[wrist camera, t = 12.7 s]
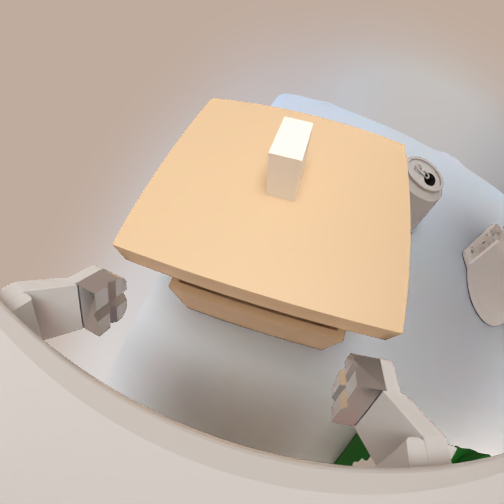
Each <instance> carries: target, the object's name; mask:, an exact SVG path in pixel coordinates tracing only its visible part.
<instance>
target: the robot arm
mask: <svg viewBox="0 0 504 504" xmlns="http://www.w3.org/2000/svg"><path fill="white" fill-rule="evenodd" d="M463 257H464V261H465V264H466V267H467V282H468V289H469V294H470V297H471V300H472V303H473V305H474V308H475V310H476V311H477V313H478V315H479V316H480V317H481V319H482V320H483V321H484V322H486V323H487V324H489V325H491V326H499V325H501V324H504V227H503V228H502V229H501V228H500V227H499V225H498V224H496V225H495V226H494V225H490V226H489V227H488V228H487V229H486V230H485V231H484V232H483V233H482V234H481V235H480V236H479V237H478V238H477V239H476V240H475V241H473V242H472V243H471V244H470V245H469V246H468V247H467V248H466V249H465V250H464V251H463ZM126 287H127V286H126V281H125V279H124V278H122V277H120V276H118V275H116V274H114V273H112V272H109V271H107V270H105V269H103V268H101V267H98V266H95V265H92V266H90V267H88V268H86V269H84V270H82V271H80V272H78V273H76V274H75V275H73V276H71V277H69V278H67V279H65V278H55V279H43V280H34V281H33V280H32V281H21V282H14V283H12V284H10V285H8V286H6V287H4V288H2V289H0V504H504V453H503V454H499V455H495V456H491V457H487V458H482V459H478V460H473V461H467V462H461V463H454V464H452V462H451V457H450V453H449V449H448V445H447V441H446V437H445V435H444V434H443V433H442V432H441V431H440V430H439V429H438V428H437V427H436V426H435V425H434V424H433V423H432V422H431V421H430V420H429V419H428V418H427V417H426V416H425V415H424V414H423V412H422V411H421V410H420V409H419V408H418V407H417V406H416V405H415V404H414V403H413V402H412V401H411V400H410V399H409V398H408V397H407V396H406V395H405V394H402V393H401V392H400V388H399V384H398V380H397V376H396V373H395V369H394V366H393V363H392V362H391V361H390V360H384V359H376V358H371V357H367V356H362V355H357V354H353V353H351V354H350V355H349V356H348V357H347V359H346V361H345V369H343V370H341V371H339V373H338V375H337V377H336V379H335V382H334V385H333V389H332V398H333V399H334V401H335V403H334V404H333V406H332V415H331V422H335V423H340V424H345V425H351V426H355V427H354V428H355V430H356V431H357V433H358V435H359V437H360V438H361V440H362V442H363V444H364V445H365V447H366V449H367V451H368V452H369V454H370V456H371V458H372V459H373V461H374V463H375V465H376V467H358V466H346V465H336V464H328V463H321V462H314V461H308V460H302V459H297V458H292V457H287V456H282V455H278V454H274V453H269V452H265V451H261V450H258V449H254V448H250V447H247V446H243V445H240V444H237V443H233V442H230V441H227V440H224V439H221V438H218V437H215V436H213V435H210V434H207V433H204V432H202V431H199V430H197V429H194V428H191V427H189V426H187V425H184V424H182V423H179V422H177V421H175V420H173V419H170V418H168V417H166V416H164V415H162V414H160V413H157V412H155V411H153V410H151V409H149V408H147V407H145V406H143V405H141V404H139V403H138V402H136V401H134V400H132V399H130V398H128V397H126V396H125V395H123V394H121V393H119V392H118V391H116V390H114V389H113V388H111V387H109V386H108V385H106V384H104V383H103V382H101V381H99V380H98V379H96V378H95V377H93V376H92V375H90V374H89V373H87V372H86V371H84V370H83V369H81V368H80V367H78V366H77V365H75V364H74V363H73V362H71V361H70V360H68V359H67V358H66V357H64V356H63V355H62V354H60V353H59V352H58V351H56V350H55V349H54V348H53V347H51V346H50V345H49V344H48V343H46V342H45V341H44V340H45V339H49V338H53V337H56V336H59V335H63V334H66V333H70V332H73V331H76V330H80V329H82V328H85V329H87V330H89V331H91V332H93V333H94V334H96V335H98V336H101V335H102V334H103V333H104V332H106V331H107V330H108V329H109V328H110V326H111V323H113V322H117V321H119V320H120V319H121V318H122V317H123V315H124V313H125V311H126V307H127V299H126V297H125V295H124V292H125V291H126V289H127V288H126Z"/></svg>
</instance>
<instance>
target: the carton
mask: <svg viewBox="0 0 504 504" xmlns="http://www.w3.org/2000/svg"><path fill="white" fill-rule="evenodd" d="M169 287H170V289H171V290H172V291H173V292H174V293H175V294H176V295H177V297H178V298H179V299H180V300H181V301H182V302H183V303H184V304H185V305H186V306H187V308H190V309H193V310H195V311H198V312H201V313H204V314H206V315H209V316H212V317H215V318H218V319H221V320H224V321H227V322H230V323H233V324H236V325H239V326H242V327H245V328H248V329H251V330H254V331H257V332H261V333H264V334H267V335H271V336H274V337H277V338H281V339H284V340H288V341H291V342H295V343H298V344H302V345H306V346H309V347H313V348H317V349H321V350H323V349H325V348H328V347H330V346H332V345H335V344H337V343H339V342H342V341H343V340H344V336H345V331H346V330H344V329H340V328H336V327H332V326H328V325H325V324H321V323H317V322H314V321H310V320H307V319H303V318H300V317H296V316H293V315H289V314H286V313H282V312H279V311H276V310H272V309H269V308H266V307H262V306H259V305H256V304H253V303H249V302H246V301H243V300H240V299H237V298H234V297H231V296H227V295H224V294H221V293H218V292H215V291H212V290H209V289H206V288H203V287H200V286H198V285H195V284H192V283H189V282H186V281H183V280H180V279H177V278H175V277H172V279H171V282H170V284H169Z"/></svg>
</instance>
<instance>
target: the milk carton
mask: <svg viewBox="0 0 504 504" xmlns="http://www.w3.org/2000/svg"><path fill="white" fill-rule="evenodd" d="M447 445H448V449H449V453H450V457H451V462H452V464H454V463H461V462H467V461H473V460H478V459H482V458H487V457H491V456H490V455H488V454H482V453H478V452H476V451H474V450H471V449H465V448H460V447H458V446H452V445H450V444H447ZM334 464H336V465H346V466H358V467H376V465H375V463H374V461H373V459H372V458H371V456H370V454H369V452H368V451H367V449H366V447H365V445H364V444H363V442H362V440H361V438H360V437H359V435H358V433H357V434H356V435H355V436H354V438H353V439H352V441H351V442H350V443H349V445H348V446H347V448H346V449H345V450H344V452H343V453H342V454H341V456H340V457H339V458H338V459H337V461H336V462H335V463H334Z"/></svg>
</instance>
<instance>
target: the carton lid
mask: <svg viewBox="0 0 504 504" xmlns="http://www.w3.org/2000/svg"><path fill="white" fill-rule="evenodd" d="M410 244H411V217H410V192H409V177H408V166H407V157H406V149H405V145H403V144H401V143H398V142H395V141H393V140H390V139H388V138H385V137H382V136H379V135H376V134H374V133H371V132H368V131H365V130H362V129H359V128H355V127H352V126H349V125H346V124H342V123H339V122H335V121H332V120H328V119H325V118H321V117H317V116H313V115H309V114H305V113H300V112H296V111H291V110H287V109H282V108H277V107H271V106H266V105H259V104H253V103H247V102H240V101H233V100H225V99H216V98H212V99H211V100H210V101H209V102H208V103H207V105H206V106H205V107H204V108H203V109H202V111H201V112H200V113H199V114H198V116H197V117H196V118H195V119H194V121H193V122H192V123H191V124H190V126H189V127H188V128H187V130H186V131H185V132H184V133H183V135H182V136H181V137H180V139H179V140H178V142H177V143H176V144H175V146H174V147H173V148H172V150H171V151H170V152H169V154H168V155H167V157H166V158H165V160H164V161H163V162H162V164H161V165H160V167H159V168H158V170H157V171H156V173H155V174H154V176H153V177H152V179H151V180H150V182H149V183H148V185H147V186H146V188H145V189H144V191H143V192H142V194H141V196H140V197H139V199H138V201H137V202H136V204H135V205H134V207H133V209H132V210H131V212H130V214H129V216H128V217H127V219H126V221H125V222H124V224H123V226H122V228H121V229H120V231H119V233H118V235H117V237H116V238H115V240H114V242H113V246H114V247H115V248H116V249H117V250H118V251H119V252H120V253H121V255H122V256H124V258H125V259H126V260H129V261H132V262H134V263H137V264H139V265H142V266H145V267H147V268H150V269H153V270H155V271H158V272H161V273H164V274H166V275H169V276H172V277H175V278H177V279H180V280H183V281H186V282H189V283H192V284H195V285H198V286H200V287H203V288H206V289H209V290H212V291H215V292H218V293H221V294H224V295H227V296H231V297H234V298H237V299H240V300H243V301H246V302H249V303H253V304H256V305H259V306H262V307H266V308H269V309H272V310H276V311H279V312H282V313H286V314H289V315H293V316H296V317H300V318H303V319H307V320H310V321H314V322H317V323H321V324H325V325H328V326H332V327H336V328H340V329H344V330H347V331H351V332H355V333H359V334H363V335H367V336H371V337H376V338H380V339H384V340H386V339H389V338H392V337H394V336H397V335H400V334H402V333H403V328H404V321H405V313H406V305H407V295H408V284H409V269H410Z"/></svg>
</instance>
